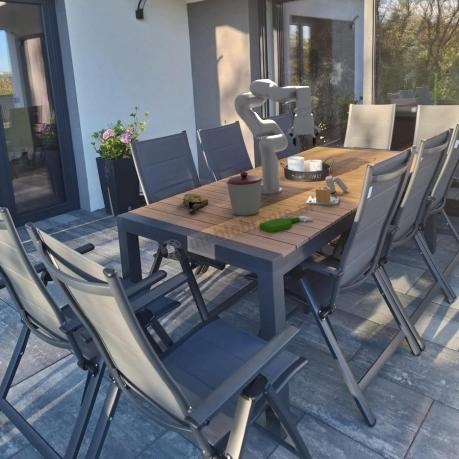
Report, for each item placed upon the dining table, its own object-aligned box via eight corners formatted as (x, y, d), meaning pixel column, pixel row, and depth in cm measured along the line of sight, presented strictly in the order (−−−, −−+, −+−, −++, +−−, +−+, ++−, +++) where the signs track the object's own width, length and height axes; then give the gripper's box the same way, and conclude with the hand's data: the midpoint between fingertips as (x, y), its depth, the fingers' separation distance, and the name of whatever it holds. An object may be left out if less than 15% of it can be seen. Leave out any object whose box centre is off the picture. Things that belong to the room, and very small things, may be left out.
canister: (253, 220, 232) (250, 176, 225) (221, 216, 241) (218, 174, 235) (270, 209, 246) (268, 168, 240) (240, 206, 256) (237, 167, 249)
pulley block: (180, 204, 245) (183, 190, 273) (180, 215, 247) (183, 200, 275) (208, 206, 246) (208, 192, 274) (208, 217, 248) (208, 202, 276)
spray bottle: (257, 228, 220) (300, 218, 232) (271, 234, 211) (315, 223, 223) (257, 222, 219) (300, 212, 231) (271, 228, 210) (315, 217, 222)
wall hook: (348, 192, 265) (344, 174, 262) (330, 197, 268) (325, 179, 265) (348, 188, 272) (344, 171, 270) (330, 193, 275) (325, 176, 273)
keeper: (305, 204, 251) (305, 191, 248) (309, 198, 261) (309, 185, 259) (337, 204, 246) (337, 191, 244) (340, 198, 257) (340, 185, 254)
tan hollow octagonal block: (315, 201, 251) (315, 189, 249) (317, 197, 258) (317, 186, 256) (329, 201, 249) (329, 189, 247) (330, 197, 255) (330, 186, 253)
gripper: (285, 113, 247) (286, 147, 252) (319, 111, 242) (320, 146, 247) (288, 111, 254) (289, 144, 259) (321, 110, 249) (322, 143, 254)
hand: (304, 145), depth 253 cm, fingers open, 9 cm apart
